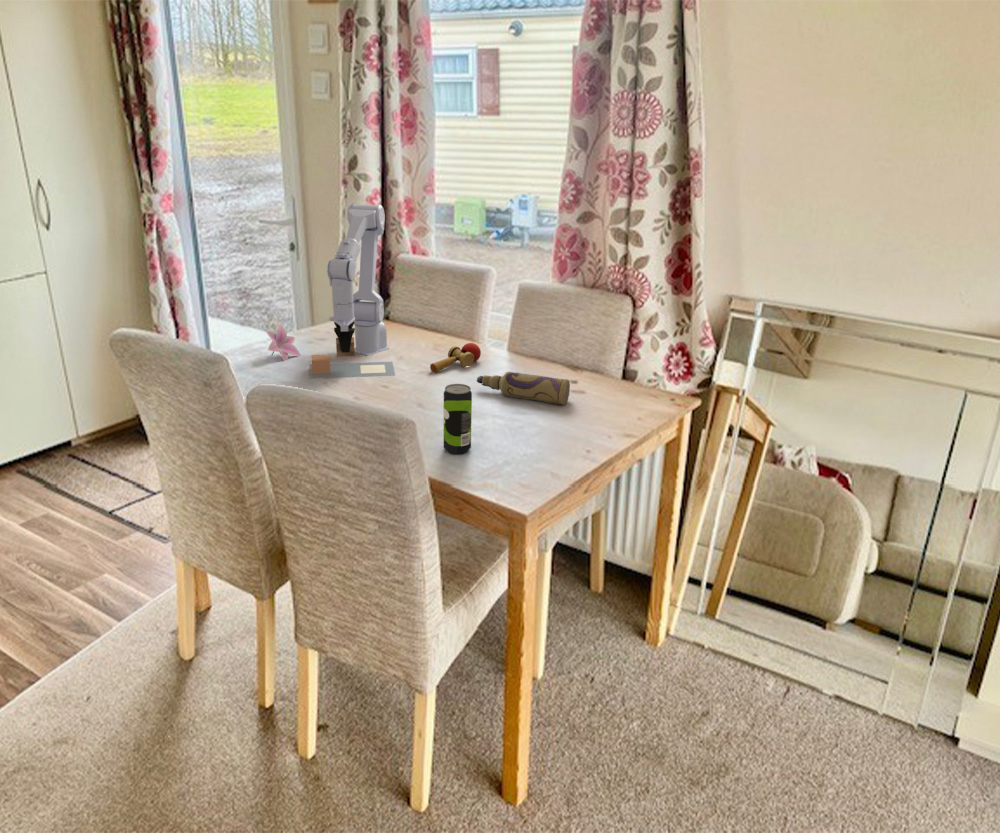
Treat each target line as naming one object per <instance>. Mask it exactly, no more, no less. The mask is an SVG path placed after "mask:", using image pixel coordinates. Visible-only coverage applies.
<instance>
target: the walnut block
mask: <svg viewBox="0 0 1000 833" xmlns="http://www.w3.org/2000/svg"><path fill="white" fill-rule="evenodd" d="M335 345H336V346H335V347H336V348H335V349H336V357H355V356H356V352H355V348H356V347H355V336H352V339H351V346H350V351H349V352H342V351H341V347H340V343H339V339H338V337H336V338H335Z"/></svg>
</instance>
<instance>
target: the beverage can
mask: <svg viewBox="0 0 1000 833" xmlns="http://www.w3.org/2000/svg"><path fill="white" fill-rule="evenodd" d="M471 390H472V388H471V386H469V385H468V384H463V383H452V384H448V385H446V386H445V387H444V391H443V448H444V450H445V451H446V452H447V453H448V454H451V455H463V454H466V453H468V452H469V451H470V449H471V448H472V410H473V409H472V407H473V406H472V404H473V392H472V391H471Z"/></svg>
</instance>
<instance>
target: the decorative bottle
mask: <svg viewBox="0 0 1000 833" xmlns="http://www.w3.org/2000/svg"><path fill="white" fill-rule="evenodd" d="M476 382H477V383H478V384H481V385H482V386H483V387H488V388H490V389H492V390H497V391H500V393H501V394H502V395H503V396H505V397H510V396H511V397H512V398H516V397H517V398H518V399H522V398H524V399H525V400H530V399H531V401H536V400H538V401H537V402H545V403H549V404H555V403H556V405H562V406H566V405H567V403H568V402H569V401H568V400H569V397H570V390H571V388H570V386H571V384H570V380H569V379H567V378H566V379H564V378H558V377H551V376H544V375H537V374H530V373H521V372H513V371H506V372H505V373H504V374H503V375H495V374H494V375H479V376H477V378H476Z"/></svg>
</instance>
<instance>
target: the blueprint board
mask: <svg viewBox="0 0 1000 833" xmlns="http://www.w3.org/2000/svg"><path fill="white" fill-rule="evenodd" d="M308 368H309V369H308V379H310V380H311V379H334V378H337V379H338V378H354V377H355V378H358V377H361V378H362V377H386V376H388V377H389V376H396V374H395V368H394V362H393V361H374V362H373V361H372V362H371V361H370V362H369V361H368V362H346V363H345V362H344V363H343V362H340V363H338V362H337V363H330V373H329V374H312V363H311V364H309V367H308Z"/></svg>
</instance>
